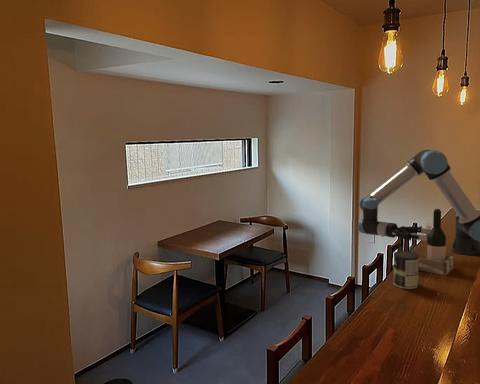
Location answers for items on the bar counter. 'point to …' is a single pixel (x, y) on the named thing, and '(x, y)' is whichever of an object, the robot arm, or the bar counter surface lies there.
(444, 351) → the bar counter surface
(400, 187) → the robot arm
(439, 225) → the wine bottle
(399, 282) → the coffee can
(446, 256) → the u rest
